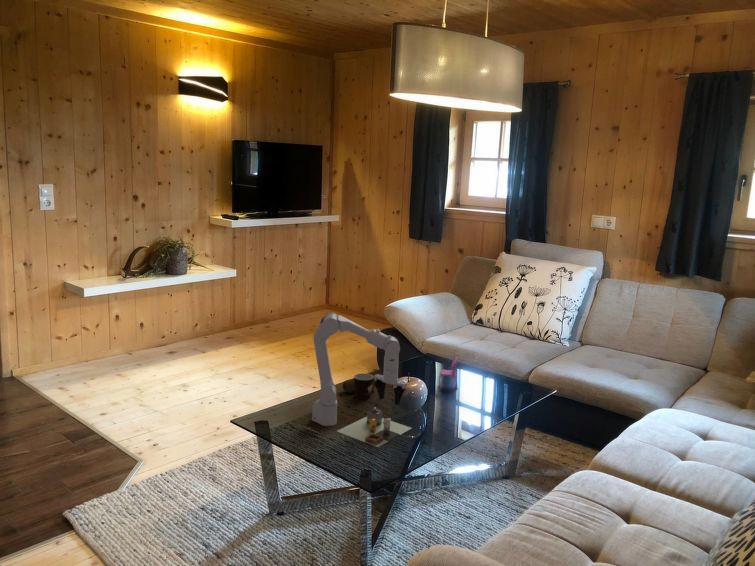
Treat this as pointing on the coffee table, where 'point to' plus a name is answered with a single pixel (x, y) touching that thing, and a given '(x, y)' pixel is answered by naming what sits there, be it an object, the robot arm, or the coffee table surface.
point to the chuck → (374, 416)
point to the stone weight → (352, 386)
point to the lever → (372, 425)
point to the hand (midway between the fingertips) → (389, 401)
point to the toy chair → (449, 371)
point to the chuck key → (386, 427)
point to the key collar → (375, 442)
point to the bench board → (362, 430)
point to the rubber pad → (388, 438)
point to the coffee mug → (363, 385)
